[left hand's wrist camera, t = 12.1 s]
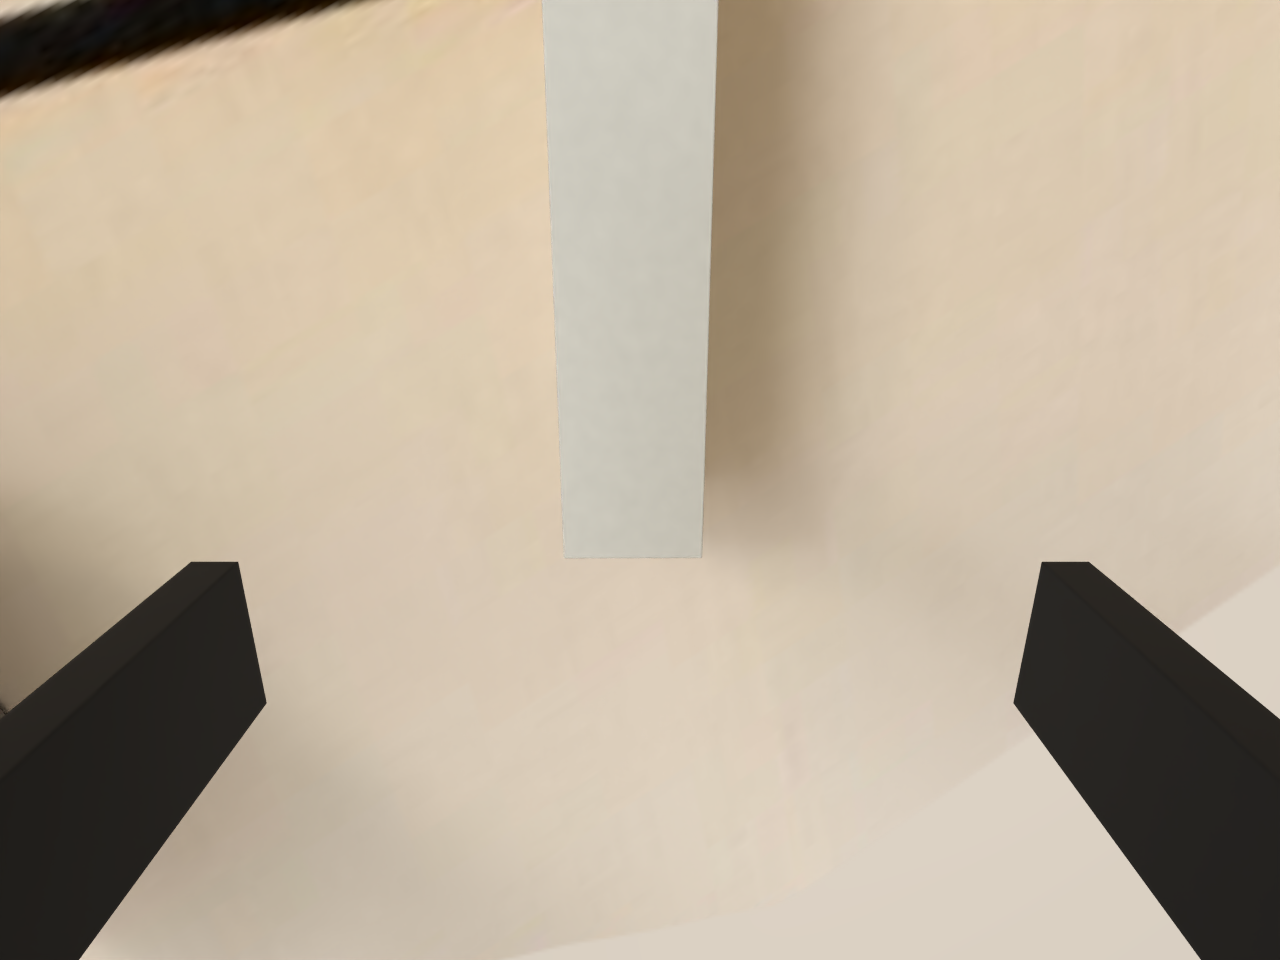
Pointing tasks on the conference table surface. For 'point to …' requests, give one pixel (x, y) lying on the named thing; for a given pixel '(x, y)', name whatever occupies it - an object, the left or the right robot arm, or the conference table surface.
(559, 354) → the bar
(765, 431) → the conference table surface
